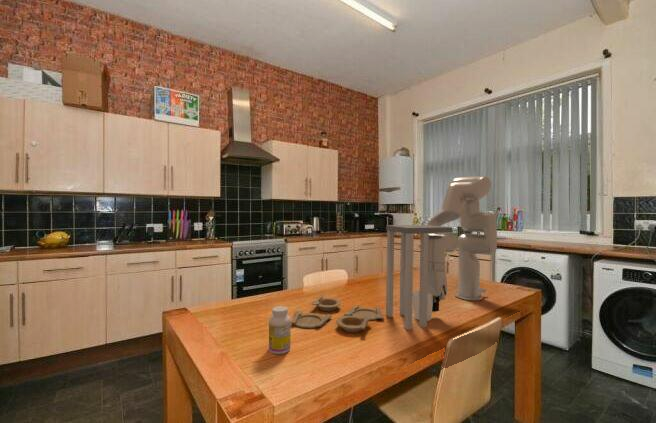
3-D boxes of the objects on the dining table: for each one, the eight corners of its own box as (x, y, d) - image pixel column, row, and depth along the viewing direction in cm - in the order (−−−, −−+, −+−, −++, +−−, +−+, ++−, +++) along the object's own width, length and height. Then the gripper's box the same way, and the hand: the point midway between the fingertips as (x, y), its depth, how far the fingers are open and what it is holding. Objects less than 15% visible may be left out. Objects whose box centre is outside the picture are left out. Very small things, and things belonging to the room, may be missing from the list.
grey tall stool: (425, 310, 128) (427, 224, 127) (450, 323, 114) (452, 227, 113) (384, 315, 121) (386, 225, 121) (406, 330, 107) (407, 228, 107)
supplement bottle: (269, 345, 95) (270, 305, 94) (290, 344, 95) (291, 304, 95) (267, 355, 88) (267, 312, 88) (290, 354, 88) (290, 312, 88)
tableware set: (281, 326, 111) (281, 315, 111) (312, 302, 138) (312, 293, 138) (374, 341, 99) (375, 329, 99) (388, 312, 126) (388, 303, 126)
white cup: (431, 315, 122) (431, 291, 122) (434, 322, 115) (434, 296, 115) (411, 313, 124) (411, 289, 124) (413, 320, 116) (413, 295, 116)
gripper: (415, 263, 126) (415, 305, 126) (440, 270, 112) (439, 318, 112) (430, 261, 128) (429, 304, 129) (456, 269, 114) (455, 316, 115)
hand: (434, 310), depth 121 cm, fingers closed
